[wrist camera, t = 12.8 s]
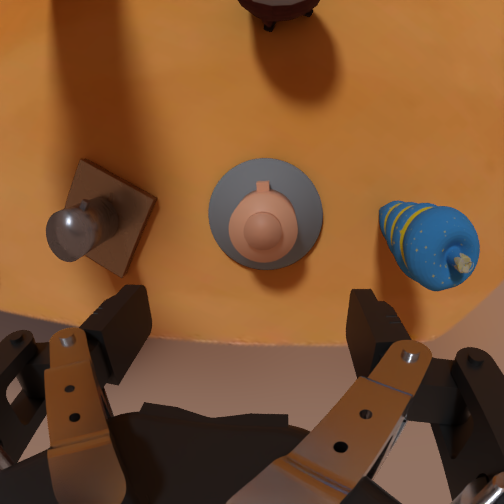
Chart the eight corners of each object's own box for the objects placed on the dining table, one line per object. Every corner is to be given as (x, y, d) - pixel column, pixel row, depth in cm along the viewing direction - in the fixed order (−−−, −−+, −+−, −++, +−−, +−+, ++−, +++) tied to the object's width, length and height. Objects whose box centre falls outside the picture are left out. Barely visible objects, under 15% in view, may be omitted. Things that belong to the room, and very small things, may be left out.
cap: (294, 179, 27) (296, 186, 22) (296, 253, 29) (298, 273, 24) (233, 181, 27) (223, 189, 23) (238, 254, 29) (230, 274, 25)
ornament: (345, 209, 28) (405, 276, 13) (383, 169, 26) (476, 198, 12) (382, 247, 28) (454, 334, 14) (419, 209, 27) (516, 267, 13)
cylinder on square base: (85, 158, 28) (41, 165, 21) (157, 198, 29) (123, 214, 22) (62, 233, 31) (22, 254, 24) (126, 274, 32) (93, 305, 25)
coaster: (242, 137, 26) (242, 137, 26) (342, 195, 27) (344, 196, 27) (191, 234, 30) (190, 236, 29) (285, 285, 30) (285, 288, 30)
